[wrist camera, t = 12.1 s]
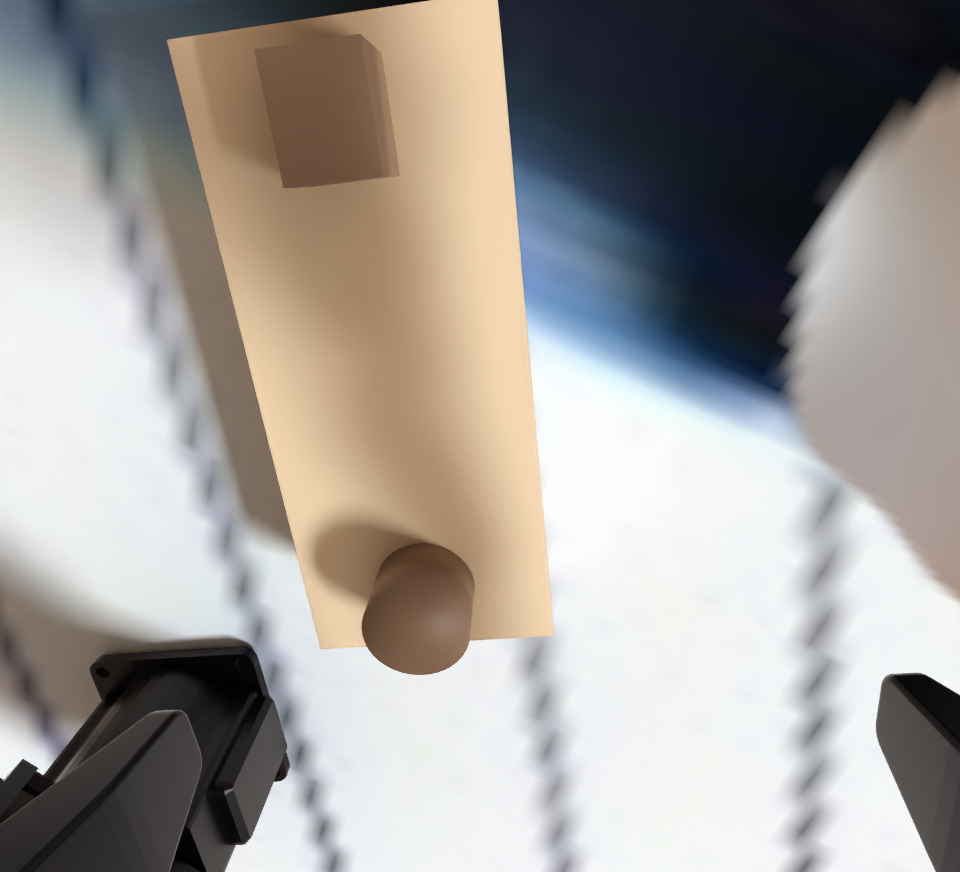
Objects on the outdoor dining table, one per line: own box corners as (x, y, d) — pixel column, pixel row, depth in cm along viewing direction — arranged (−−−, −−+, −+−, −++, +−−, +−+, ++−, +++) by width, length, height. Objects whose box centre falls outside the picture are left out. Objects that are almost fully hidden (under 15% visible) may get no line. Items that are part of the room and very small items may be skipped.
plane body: (351, 573, 23) (300, 698, 18) (241, 68, 17) (111, 18, 12) (547, 559, 23) (557, 685, 17) (500, 31, 17) (493, -41, 11)
